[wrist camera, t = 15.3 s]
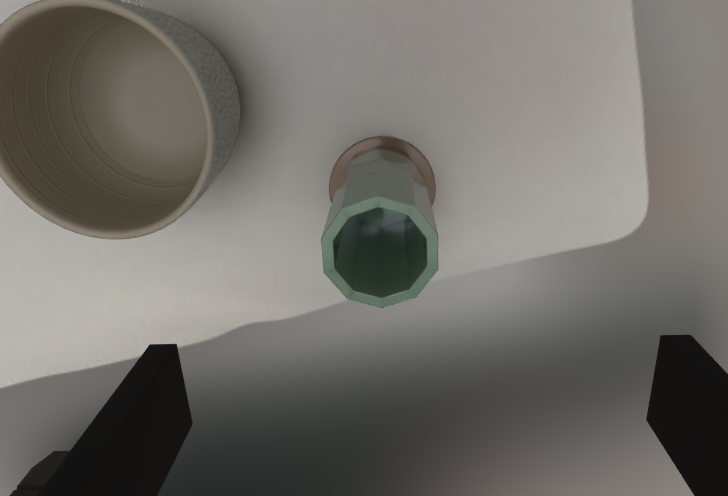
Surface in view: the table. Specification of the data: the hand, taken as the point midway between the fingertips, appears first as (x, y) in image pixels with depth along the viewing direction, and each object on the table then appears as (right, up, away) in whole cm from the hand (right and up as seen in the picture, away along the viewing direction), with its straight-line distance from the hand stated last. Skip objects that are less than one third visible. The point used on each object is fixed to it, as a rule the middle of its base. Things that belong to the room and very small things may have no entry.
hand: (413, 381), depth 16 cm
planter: (-15, +14, +24) cm, 31 cm away
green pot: (0, +8, +25) cm, 26 cm away
